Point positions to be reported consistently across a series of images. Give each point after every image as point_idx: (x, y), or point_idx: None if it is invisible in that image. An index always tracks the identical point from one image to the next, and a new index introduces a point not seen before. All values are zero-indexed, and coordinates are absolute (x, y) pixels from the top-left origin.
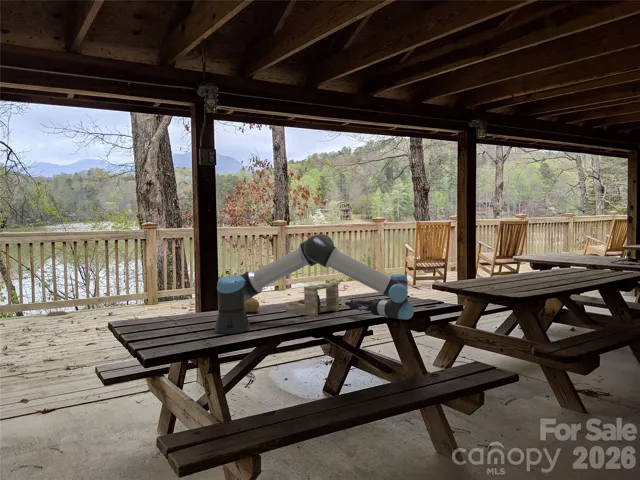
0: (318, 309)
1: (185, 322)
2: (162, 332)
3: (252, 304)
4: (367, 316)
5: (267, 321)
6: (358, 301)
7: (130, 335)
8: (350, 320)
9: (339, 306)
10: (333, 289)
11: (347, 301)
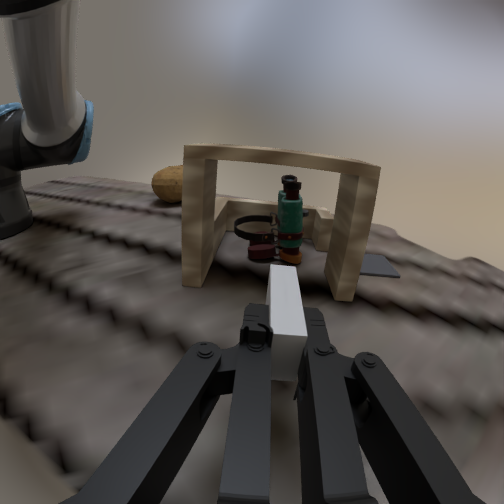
0: (286, 257)
1: (70, 192)
2: None
3: (153, 182)
4: None
5: (78, 235)
6: (330, 388)
7: None
8: None
9: (396, 275)
10: (351, 190)
11: (269, 306)
